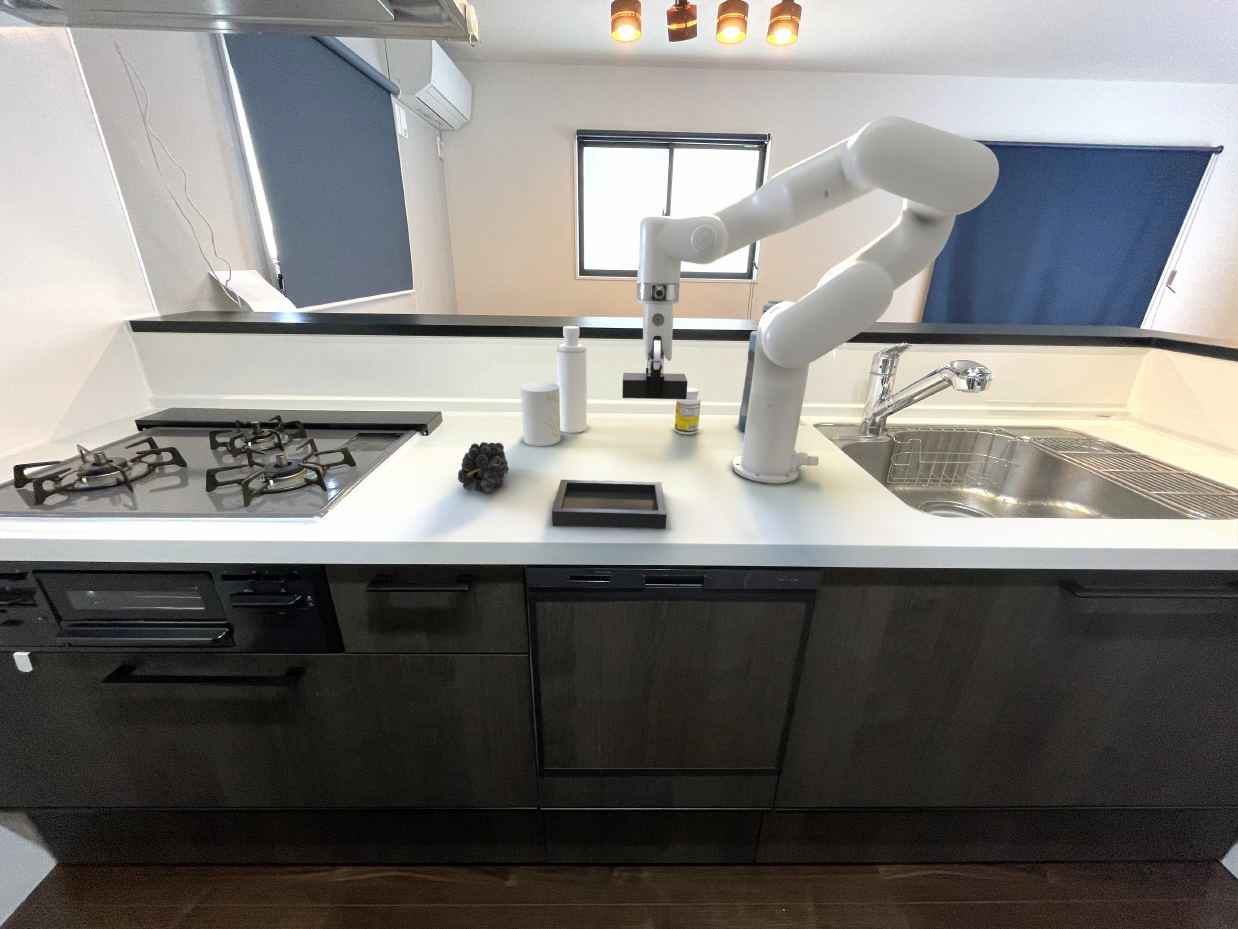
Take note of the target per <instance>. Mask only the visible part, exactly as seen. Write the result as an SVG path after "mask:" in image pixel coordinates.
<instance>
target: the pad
mask: <svg viewBox="0 0 1238 929" xmlns="http://www.w3.org/2000/svg"><path fill="white" fill-rule="evenodd" d="M647 376H648V373H646V372H623V374H622V396H621V397H622V399H638V400H639V399H641V400H646V399H648V400H649V399H650V400H677V399H686V397H687V388H688V379H687V377H686V374H685V373H663V376H664V392H663V397H662V398H652V397H646V382H647Z"/></svg>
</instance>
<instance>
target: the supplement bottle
mask: <svg viewBox="0 0 1238 929" xmlns="http://www.w3.org/2000/svg"><path fill="white" fill-rule="evenodd" d="M701 402H702V401H701V398H700V397H699V390H698V389H697V388H695V387H687V397H686V399H676V404H675V417H674V418H675V419H674V431H675V432H676V433H678V434H680V435H687V436H689V435H694V434H695V435H696V433H698V431H699V424H700V413H701Z"/></svg>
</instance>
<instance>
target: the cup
mask: <svg viewBox="0 0 1238 929" xmlns="http://www.w3.org/2000/svg"><path fill="white" fill-rule="evenodd" d="M520 398H521V401H520V402H521V416H522V417H521V418H522V434H523V435H522V436H523V442H524V443H525V444H526V445H530V446H533V447H534V446H535V447H547V446H549V447H550V446H553V445H556V444H558V443H559V442H561V431H560V394H559V385H557V383H554V382H548V381H547V382H546V381H533V382H528V383H524V384H522V385H521V386H520Z"/></svg>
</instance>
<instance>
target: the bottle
mask: <svg viewBox="0 0 1238 929" xmlns="http://www.w3.org/2000/svg"><path fill="white" fill-rule="evenodd" d="M782 302H789V301H788V300H785V299H768V300H767V302H765V303H764V304H763V305H762V313H761V318H762V317H763V315H764V314H765V313H766V312H767V311H768V310H769V309H770V308H771V307H773V306H774V305H776V304H779V303H782ZM756 336H757V330H753V331H751V332H750V336H749V342H748V349H747V351H748V353H747V363H746V371H745V378H744V382H743V383H744V384H743V391H742V398H741V404H740V407H739V408H740V409H739V416H738V425H737V426H738V429H739V430H740V431H742V432H744V433H745V428H746V420H747V413H748V405H749V398H750V391H751V384H752V377H753V369H754V359H755V347H756Z"/></svg>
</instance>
